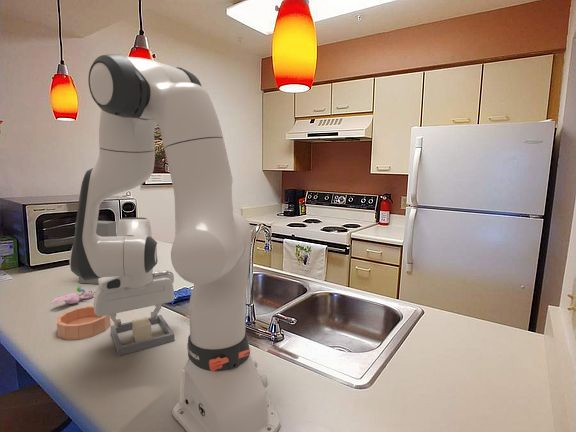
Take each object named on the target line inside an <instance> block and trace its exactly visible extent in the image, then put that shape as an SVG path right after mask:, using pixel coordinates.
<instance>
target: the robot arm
mask: <svg viewBox="0 0 576 432" xmlns="http://www.w3.org/2000/svg"><path fill="white" fill-rule="evenodd" d="M87 83H88V88H89V93H90V95H91V97H92V100H93V101H94V102H95V104H96V105H97V106H98V107H99V108H100V115H99V124H98V125H99V127H98V147H99V149H98V151H99V153H98V159H97V161H96V163H95V164H94V166H93V167H92V168H90V169H88V170H86V171H85V173H84V175H83V179H82V182H81V186H80V191H79V198H78V206H77V211H76V212H77V213H76V221H75V222H76V228H75V230H74V237H73V243H72V248H71V249H70V254H69V268H70V271H71V272H72V273H73V275H75V276H77V277H78V278H79V277H80V278H82V279H84V280H91V279H98V283H99V284H98V286H97V288H96V289H95V291H94V292H95V293H94V295H93V306H94V313H95V314H96V315H97V316H98V317H101V316H105V315H110V320H112V321H113V322H114V323H113V326H115V328H119V327H121V324H122V320H121V319H120V318H118V319H117V318H116V317H117V314H120V313H123V312H124V313H125V312H129V311H133V310H139V309H143V308H144V309H145V308H149V307H153V306H154V307H155V308H154V309H153V311H151V312H150V317H151V319H152V320H154V319H158V314H159V312H160V311H161V310H162V308H163V307H162V306H163V305H162V304H168V303H172V302H173V301H174V299H175V292H174V291H175V290H174V289H175V288H174V285H173V284H174V282H175V279H174V278H175V277H174V273H173V272H172V271H169V270H163V271H154V267H155V266H156V265H157V264H158V255H157V252H158V251H157V244H158V242H157V241H156V239H154V238H153V236H152V235H153V233H152V227H151V222H150V220H149V219H148V218H146V217H122V218H120V219H119V220H118V222H117V226H116V234H117V236H111V237H101V236H98V235H97V234H96V228H97V221H99V220H98V219H99V213H100V205H101V204H102V202H104V200H106V199H108V198H111V197H113V196H115V195H117V194H121V193H123V192H127V191H129V190H133V189H135V188H137V187H140V186H141V185H143V184H144V183H146V181H148V180H149V179H150V177H151V176H152V175H153V173H154V168H155V162H156V161H155V160H156V159H155V158H156V146H155V145H156V144H155V143H156V142H155V141H156V140H155V129H156V127H157V126H158V129H159V130H160V134H161V135H160V136H161V140H162V145H163V149H164V153H165V157H166V162H167V166H168V170H169V175H170V180H171V183H172V189H173V194H174V195H173V196H174V221H175V222H174V228H175V229H174V230H175V231H174V240H173V242H172V245H171V249H170V260H171V264H172V267H173V269H174V271H175V272H176V274H178V276H179V277H181V279H183V280H185V281H186V282H188V283H191V284H193V288H192V291H191V294H190V298H189V335H188V338H187V345H186V347H187V357H188V359H187V362H185V363H186V364H185V365H184V367H183V368H182V370H181V372H180V387H179V389H180V391H179V392H180V393H179V401H178V402H177V403H176V404H175V405H174V406H173V409H172V416H173V418H174V419H175V420H176V421H177V422H178V423H179V424H180V425H181V427H182V428H183V429H184V430H185V431H186V432H278V431H279V429H280V428H281V419H280V417H279V416H278V413H277V412H276V409H275V408H274V406H273V404H272V402H271V401H270V398H269V397H268V395H267V391H266V388H267V387H268V386H269V385H268V384H269V383H268V382H269V381H268V378H267V375H266V374H265V375H264V374H262V375H259V372H258V369H257V368H258V363H257V361H256V360H253V358H252V356H251V348H250V340H249V338H248V334H247V333H248V332H247V330H246V301H247V300H246V299H247V298H246V297H247V289H248V288H247V287H248V280H249V271H250V262H251V261H250V260H251V251H252V250H251V246H252V235H253V233H252V226H251V224H250V222H249V220H248V219H247V218H246V217H245V216H243V215H242V214H240V213H238V212H235V211H234V210H233V209H234V208H233V206H234V205H233V195H232V194H233V193H232V190H233V189H232V188H233V175H232V170H231V167H230V166H231V165H230V162H229V157H228V153H227V148H226V144H225V139H224V135H223V132H222V128H221V127H222V126H221V123H220V120H219V118H218V114H217V112H216V109H215V106H214V104H213V101H212V100H211V97H210V95H209V93H208V91H207V90H206V89H205V88H204V87H203V86H202V83H201V81H200V80H199V78H198V77H197V76H196V75H194V73H192V72H190V71H189V70H187V69H184V68H182V67H180V66H179V67H178V66H177V67H175V66H172V65H170V64H166V63H163V62H159V61H156V60H154V59H149V58H144V57H134V56H125V55H124V54H121V53H111V54H110V53H109V54H104V55H103V54H102V55H99V56H98V57H96V58H95V59H94V60H93V62H92V64H91V66H90V68H89V72H88V82H87Z"/></svg>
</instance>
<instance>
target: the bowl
mask: <svg viewBox="0 0 576 432" xmlns="http://www.w3.org/2000/svg"><path fill="white" fill-rule="evenodd" d="M110 326H111V318H110V315H105V316H101V317H98V316H97V315H96V314H95V313H94V305H87V306H82V307H77V308H74V309H71V310H68V311H66V312H63V313H62V314H61V315H59V316H57V317H56V330H57V338H60V339H63V340H67V341H68V340H81V339H82V340H84V339H86V338H90V337H94V336H97V335H99V334H100V333H103V332H106V330H107V329H108V328H109V327H110Z"/></svg>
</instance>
